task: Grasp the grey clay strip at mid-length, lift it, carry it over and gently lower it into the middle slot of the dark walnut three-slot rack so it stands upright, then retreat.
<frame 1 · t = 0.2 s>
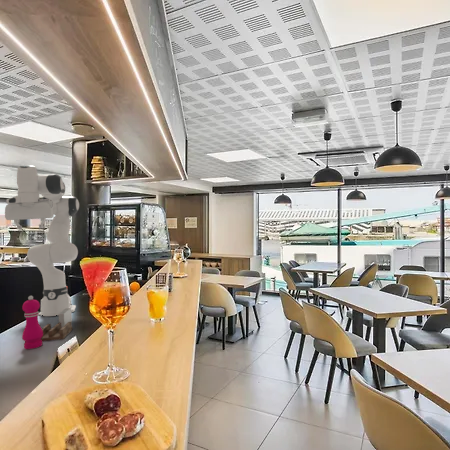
hand: (30, 228, 161), 47 cm above the worktop, fingers open, 8 cm apart
walnut rack: (50, 335, 148), on the worktop
pepper mill: (33, 346, 135), on the worktop
clay strip: (65, 325, 164), on the worktop
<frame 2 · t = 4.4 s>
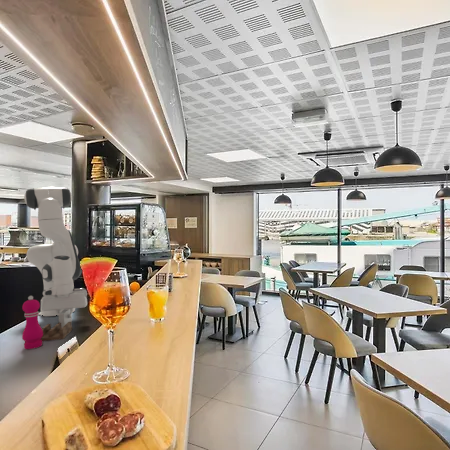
hand: (65, 318, 164), 3 cm above the worktop, fingers closed on clay strip, 2 cm apart
clay strip: (65, 325, 164), on the worktop, touching gripper
everything else where it was.
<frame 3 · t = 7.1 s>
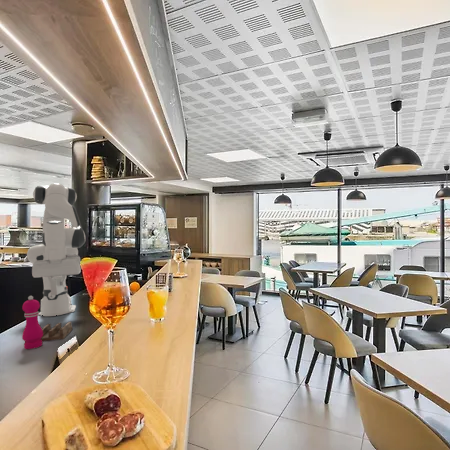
hand: (57, 285, 157), 20 cm above the worktop, fingers closed on clay strip, 2 cm apart
clay strip: (58, 293, 157), point 17 cm above the worktop, touching gripper
everything else where it was.
when the fingers open (6 cm above the worktop, at t = 9.8 s): clay strip drops 2 cm, resting on walnut rack.
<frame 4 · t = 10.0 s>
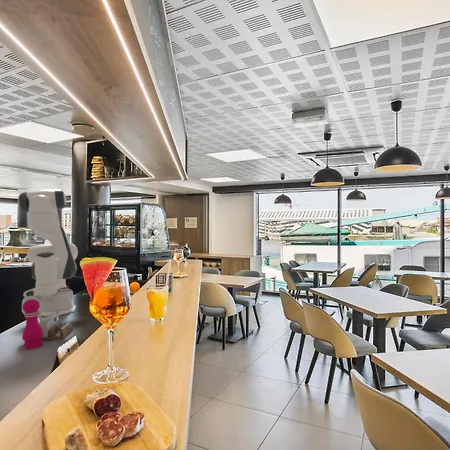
hand: (49, 321, 148), 6 cm above the worktop, fingers open, 4 cm apart
clay strip: (49, 333, 148), point 1 cm above the worktop, touching walnut rack
everything else where it was.
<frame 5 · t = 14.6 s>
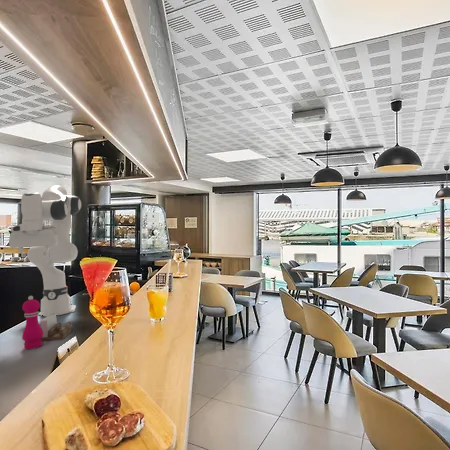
hand: (34, 256, 160), 34 cm above the worktop, fingers open, 8 cm apart
nothing on the worktop moved.
at the end: clay strip 0.1 cm off-centre on the walnut rack, point 1.2 cm above the walnut rack's base; clay strip tilted 0°; the gripper is holding nothing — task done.
